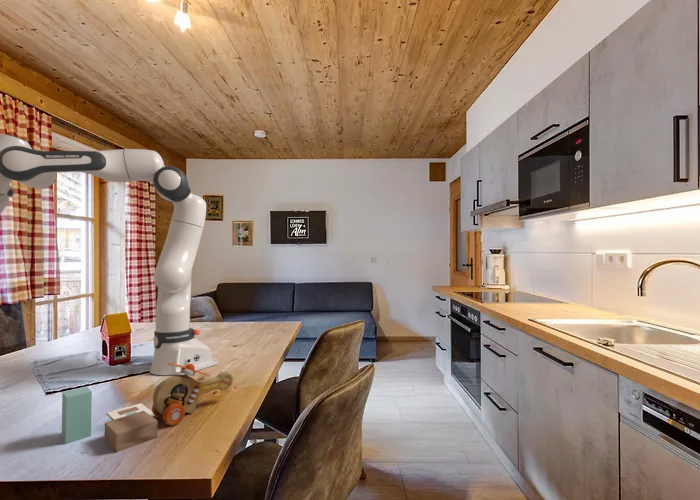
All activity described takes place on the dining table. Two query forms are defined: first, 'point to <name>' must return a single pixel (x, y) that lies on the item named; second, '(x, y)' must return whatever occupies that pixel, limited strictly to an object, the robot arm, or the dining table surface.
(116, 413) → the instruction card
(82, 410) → the teal tall block
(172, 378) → the toy helicopter
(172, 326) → the robot arm
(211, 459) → the dining table surface
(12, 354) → the dining table surface
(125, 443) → the walnut base block
